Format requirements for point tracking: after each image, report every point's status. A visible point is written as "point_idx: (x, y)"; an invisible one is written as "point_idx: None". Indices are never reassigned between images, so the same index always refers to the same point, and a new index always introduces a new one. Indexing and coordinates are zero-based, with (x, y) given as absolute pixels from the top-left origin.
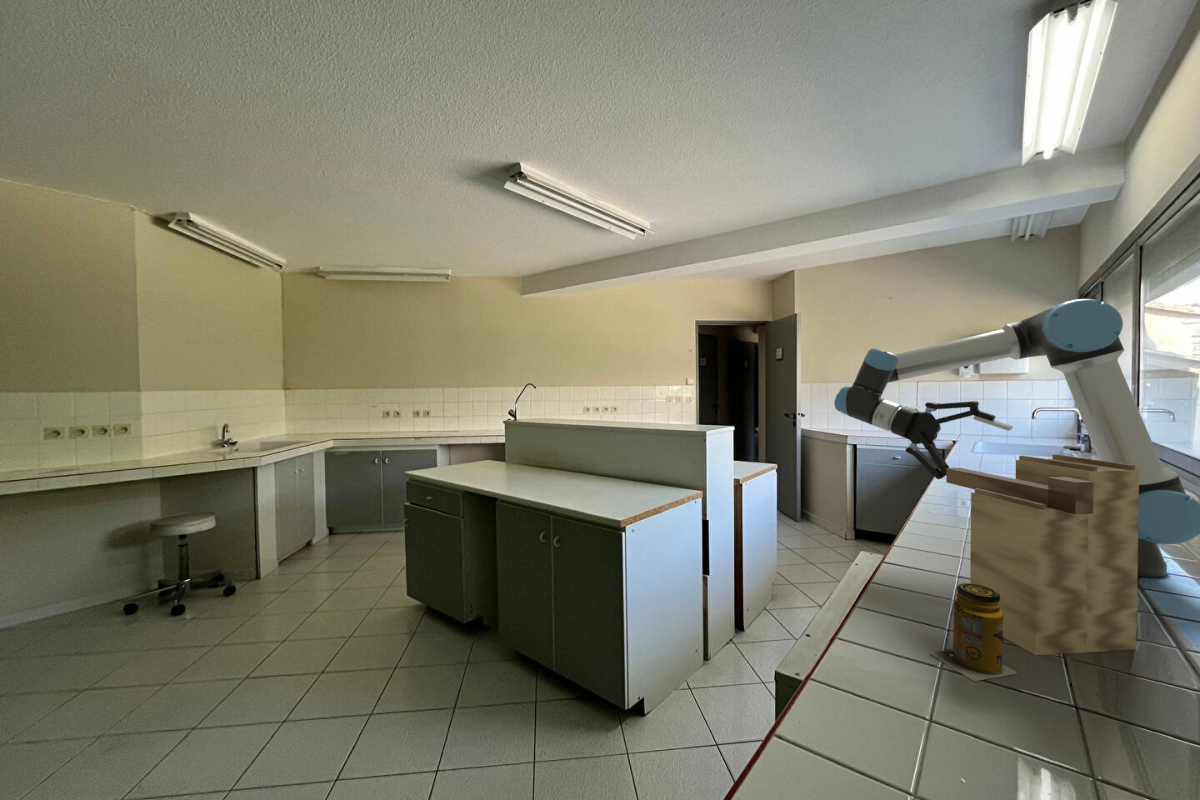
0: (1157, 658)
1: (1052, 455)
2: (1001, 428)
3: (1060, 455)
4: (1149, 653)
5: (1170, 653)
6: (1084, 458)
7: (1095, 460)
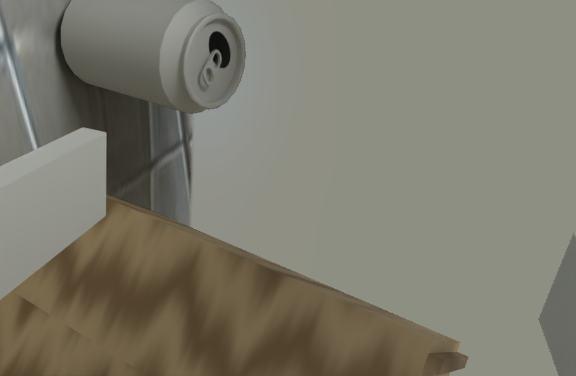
0: (169, 213)
1: (435, 373)
2: (548, 346)
3: (444, 366)
4: (163, 205)
5: (178, 175)
6: (455, 359)
7: (456, 368)
